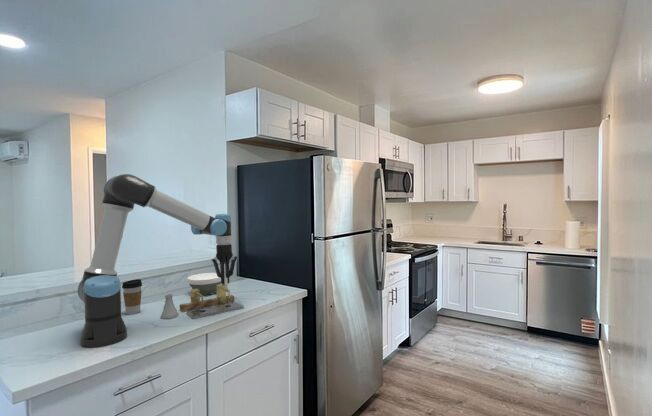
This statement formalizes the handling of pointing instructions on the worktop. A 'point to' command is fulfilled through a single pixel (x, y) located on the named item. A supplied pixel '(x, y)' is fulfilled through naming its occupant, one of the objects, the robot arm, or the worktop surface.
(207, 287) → the bowl
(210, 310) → the hole plate
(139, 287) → the coffee cup
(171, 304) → the flask
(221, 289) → the slider leg
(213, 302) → the rail
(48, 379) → the worktop surface
